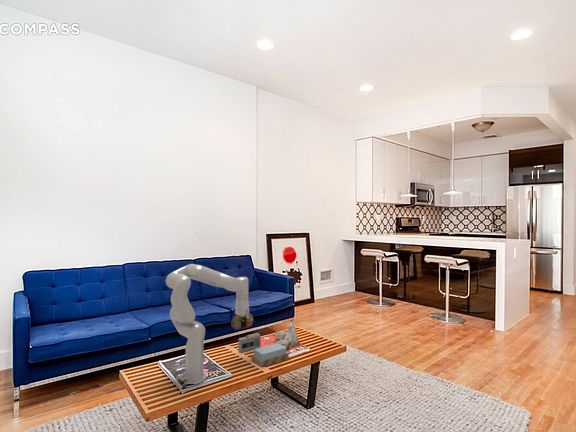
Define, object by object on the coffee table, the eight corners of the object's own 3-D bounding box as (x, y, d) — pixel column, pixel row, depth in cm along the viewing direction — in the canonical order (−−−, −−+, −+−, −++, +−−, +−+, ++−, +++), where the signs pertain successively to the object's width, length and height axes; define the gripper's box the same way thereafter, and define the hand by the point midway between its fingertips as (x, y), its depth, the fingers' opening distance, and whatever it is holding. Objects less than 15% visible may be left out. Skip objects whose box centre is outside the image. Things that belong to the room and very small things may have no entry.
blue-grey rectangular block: (262, 361, 204) (262, 354, 204) (253, 355, 212) (253, 349, 212) (286, 354, 215) (286, 347, 215) (277, 349, 223) (277, 342, 223)
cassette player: (240, 353, 224) (240, 338, 225) (238, 352, 227) (238, 337, 227) (260, 348, 234) (260, 333, 234) (258, 346, 236) (258, 332, 236)
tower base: (261, 368, 203) (261, 361, 203) (251, 361, 213) (251, 355, 213) (288, 360, 215) (288, 354, 215) (277, 354, 225) (277, 348, 225)
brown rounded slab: (232, 330, 207) (232, 317, 207) (230, 329, 210) (230, 315, 209) (253, 325, 216) (254, 312, 216) (251, 324, 219) (251, 311, 219)
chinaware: (273, 340, 253) (271, 318, 253) (295, 336, 256) (293, 314, 256) (279, 355, 226) (276, 330, 225) (303, 351, 229) (301, 326, 228)
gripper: (230, 295, 217) (230, 324, 217) (243, 300, 204) (244, 331, 204) (241, 293, 221) (241, 322, 222) (254, 298, 209) (254, 328, 209)
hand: (242, 326), depth 213 cm, fingers closed on brown rounded slab, 2 cm apart
